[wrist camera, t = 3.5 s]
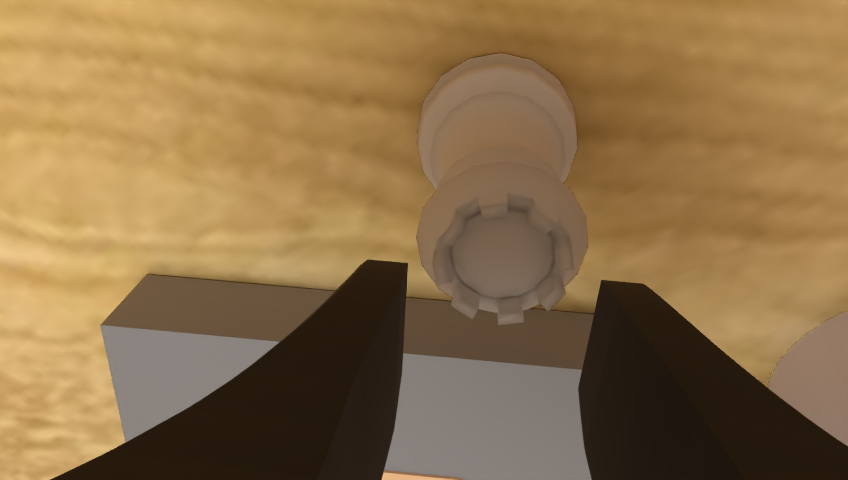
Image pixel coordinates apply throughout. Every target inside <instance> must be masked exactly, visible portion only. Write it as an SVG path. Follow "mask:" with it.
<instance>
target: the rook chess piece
mask: <svg viewBox="0 0 848 480" xmlns="http://www.w3.org/2000/svg"><path fill="white" fill-rule="evenodd" d="M417 133H418V138H417V145H418V150H419V155H420V160H421V165H422V170H423V172H424V173H425V175H426V176H427V178H428V179H429V181H430V182H431V183H432V185H433V186H434V188H435V189H436V192H435V193H434V194H433V196H432V197H431V198H430V200H429V201H428V202H427V204H426V205H425V206H424V207H423V210H422V214H421V218H420V223H419V227H418V231H417V236H416V239H417V244H418V249H419V253H420V258H421V263H422V266H423V268H424V269H425V270H426V272H427V273H428V275H429V276H430V277H431V279H432V280H433V281H434V283H435V284H436V286H437V287H438V288H439V290H441V291H442V292H444V293H445V294H447V295H449V296H450V297H452V301H451V306H452V307H454V308H455V309H457V310H458V311H460V312H461V313H463V314H465V315H466V316H468V317H469V318H471V319H473V318H474V316H475V314H476V312H477V311H478V309H481V310H485V311H490V312H494V313H498V325H504V324H514V323H524V313H523V310H528V309H530V308H532V307H534V306H536V305H538V304H541V305H542V306H543V307H544V308H545V309H546V310H547V311H549V310H550V309H551V308H552V307H553V306H554V305H555V304H556V303H557V302H558V301H559V300H560V299H561V298H562V297H563V296H564V295H565V294H566V292H565V288H564V287H565V286H566V285H567V284H568V283H569V282H570V281H571V280H572V279H573V278H574V277H575V276H576V275H577V274H578V271H579V269H580V266H581V264H582V261H583V258H584V256H585V253H586V250H587V248H588V236H587V224H586V215H585V213H584V212H583V210H582V208H581V207H580V205H579V203H578V201H577V200H576V198H575V196H574V195H573V193H572V191H571V190H570V188H569V187H567V186H566V185H564V184H563V183H564V181H565V180H566V179H567V177H568V174H569V171H570V168H571V165H572V163H573V160H574V157H575V154H576V151H577V148H578V144H577V132H576V120H575V115H574V106H573V104H572V103H571V101H570V99H569V97H568V95H567V94H566V92H565V90H564V88H563V86H562V84H561V83H560V81H559V79H557V78H556V77H555V76H553V75H552V74H551V73H549V72H548V71H547V70H545V69H544V68H543V67H541V66H540V65H539V64H537V63H536V62H535V61H533V60H529V59H525V58H521V57H516V56H512V55H508V54H503V53H499V54H493V55H487V56H481V57H475V58H469V59H467V60H466V61H464V62H463V63H461V64H460V65H458V66H456V67H455V68H453V69H452V70H450V71H448V72H447V73H445V74H444V75H442V76H441V77H440V79H439V80H438V82H437V83H436V84H435V86H434V87H433V89H432V90H431V92H430V93H429V94H428V96H427V97H426V99H425V100H424V101H423V106H422V111H421V115H420V120H419V125H418V129H417Z"/></svg>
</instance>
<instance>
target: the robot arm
mask: <svg viewBox="0 0 848 480" xmlns="http://www.w3.org/2000/svg"><path fill="white" fill-rule="evenodd" d="M407 270H408V263H400V262H389V261H377V260H367V261H365V262H364V263H363V264H362V265H360V266H359V267H358V268H357V269H356V270H355V272H354V273H353V274H352V275H351V276H350V277H349V278H348V279H347V280H346V281H345V282H344V283H343V284H342V285H341V286H340V287H339V288H338V289H337V290H336V291H335V292H334V293H333V294H332V295H331V296H330V297H329V298H328V299H327V300H326V301H325V302H324V303H323V304H322V305H321V306H320V307H319V308H318V309H316V310H315V311H314V312H313V313H312V314H311V315H310V316H309V317H308V318H307V319H306V320H304V321H303V322H302V323H301V324H300V325H299V326H298V327H297V328H296V329H295V330H293V331H292V332H291V333H290V334H289V335H288V336H286V337H285V338H284V339H283V340H281V341H280V342H279V343H278V344H276V345H275V346H274V347H273V348H272V349H270V350H269V351H268V352H267V353H265V354H264V355H263V356H262V357H260V358H259V359H258V360H257V361H256V362H254V363H253V364H252V365H250V366H249V367H248V368H246V369H245V370H244V371H242V372H241V373H240V374H238V375H237V376H235V377H234V378H233V379H231V380H230V381H228V382H227V383H226V384H224V385H222V386H221V387H219V388H218V389H216V390H215V391H213V392H212V393H210V394H209V395H207V396H206V397H204V398H203V399H201V400H200V401H198V402H196V403H195V404H193V405H191V406H190V407H188V408H187V409H185V410H183V411H181V412H180V413H178V414H176V415H174V416H172V417H171V418H169V419H167V420H165V421H163V422H162V423H160V424H158V425H156V426H154V427H153V428H151V429H149V430H147V431H145V432H144V433H142V434H140V435H138V436H136V437H135V438H133V439H131V440H129V441H127V442H126V443H124V444H122V445H120V446H118V447H117V448H115V449H113V450H111V451H109V452H107V453H105V454H103V455H101V456H99V457H97V458H95V459H93V460H91V461H89V462H86V463H84V464H82V465H80V466H78V467H76V468H74V469H72V470H70V471H68V472H66V473H64V474H62V475H59V476H57V477H55V478H53V479H51V480H382V476H383V472H384V469H385V465H386V461H387V457H388V453H389V449H390V445H391V441H392V437H393V433H394V428H395V421H396V414H397V407H398V399H399V392H400V385H401V377H402V366H403V347H404V328H405V309H406V290H407ZM578 394H579V404H580V414H581V424H582V433H583V441H584V449H585V454H586V458H587V462H588V467H589V471H590V475H591V479H592V480H848V311H846V312H844V313H842V314H840V315H837V316H835V317H833V318H831V319H829V320H827V321H825V322H823V323H822V324H820V325H819V326H817V327H816V328H814V329H813V330H811V331H809V332H808V333H807V334H805V335H804V336H803V337H802V338H801V339H800V340H799V341H798V342H796V343H795V344H794V345H793V346H792V347H791V348H790V349H789V350H788V352H787V353H786V354H785V355H784V357H783V358H782V359H781V360H780V362H779V363H778V365H777V367H776V368H775V370H774V372H773V374H772V376H771V378H770V381H769V385H768V388H767V387H766V386H765V385H763V384H762V383H761V382H760V381H758V380H757V379H756V378H755V377H753V376H752V375H751V374H750V373H748V372H747V371H746V370H745V369H743V368H742V367H741V366H740V365H739V364H737V363H736V362H735V361H734V360H733V359H731V358H730V357H729V356H728V355H727V354H725V353H724V352H723V351H722V350H721V349H720V348H718V347H717V346H716V345H715V344H714V343H713V342H711V341H710V340H709V339H708V338H707V337H706V336H704V335H703V334H702V333H701V332H700V331H699V330H698V329H696V328H695V327H694V326H693V325H692V324H691V323H690V322H688V321H687V320H686V319H685V318H684V317H683V316H682V315H680V314H679V313H678V312H677V311H676V310H675V309H674V308H672V307H671V306H670V305H669V304H668V303H667V302H666V301H664V300H663V299H662V298H661V297H660V296H658V295H657V294H656V293H655V292H654V291H652V290H651V289H650V288H648V287H647V286H646V285H644V284H640V283H629V282H617V281H606V280H601V285H600V289H599V294H598V298H597V303H596V308H595V312H594V317H593V322H592V326H591V331H590V335H589V340H588V345H587V349H586V354H585V359H584V363H583V368H582V372H581V377H580V382H579V386H578Z"/></svg>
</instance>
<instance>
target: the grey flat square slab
mask: <svg viewBox="0 0 848 480" xmlns="http://www.w3.org/2000/svg"><path fill="white" fill-rule="evenodd" d="M334 292H335V291H328V290H317V289H306V288H294V287H283V286H272V285H261V284H250V283H238V282H227V281H216V280H205V279H194V278H182V277H171V276H160V275H149V274H147V275H146V276H145V277H144V278H143V279H142V280H141V281H140V282H139V283H138V285H137V286H136V287H135V288H134V289H133V290H132V291H131V292H130V293H129V294H128V296H127V297H126V298H125V299H124V300H123V301H122V302H121V303H120V304H119V305H118V306H117V308H116V309H115V310H114V311H113V312H112V313H111V314H110V315H109V316H108V317H107V319H106V320H105V321H104V322H103V323H102V324H101V330H102V335H103V339H104V344H105V349H106V353H107V358H108V362H109V367H110V372H111V376H112V381H113V386H114V390H115V395H116V400H117V404H118V409H119V414H120V418H121V423H122V427H123V432H124V437H125V441H126V442H127V441H129V440H131V439H133V438H135V437H136V436H138V435H140V434H142V433H144V432H145V431H147V430H149V429H151V428H153V427H154V426H156V425H158V424H160V423H162V422H163V421H165V420H167V419H169V418H171V417H172V416H174V415H176V414H178V413H180V412H181V411H183V410H185V409H187V408H188V407H190V406H191V405H193V404H195V403H196V402H198V401H200V400H201V399H203V398H204V397H206V396H207V395H209V394H210V393H212V392H213V391H215V390H216V389H218V388H219V387H221V386H222V385H224V384H226V383H227V382H228V381H230V380H231V379H233V378H234V377H235V376H237V375H238V374H240V373H241V372H242V371H244V370H245V369H246V368H248V367H249V366H250V365H252V364H253V363H254V362H256V361H257V360H258V359H259V358H260V357H262V356H263V355H264V354H265V353H267V352H268V351H269V350H270V349H272V348H273V347H274V346H275V345H276V344H278V343H279V342H280V341H281V340H283V339H284V338H285V337H286V336H288V335H289V334H290V333H291V332H292V331H293V330H295V329H296V328H297V327H298V326H299V325H300V324H301V323H302V322H303V321H304V320H306V319H307V318H308V317H309V316H310V315H311V314H312V313H313V312H314V311H315V310H316V309H318V308H319V307H320V306H321V305H322V304H323V303H324V302H325V301H326V300H327V299H328V298H329V297H330V296H331V295H332V294H333V293H334ZM523 313H524V323H514V324H504V325H498V313H494V312H490V311H485V310H481V309H478V311H477V312H476V314H475V316H474V318H473V319H471V318H469V317H468V316H466V315H465V314H463V313H461V312H460V311H458V310H457V309H455V308H454V307H452V306H451V301H440V300H429V299H417V298H406V309H405V328H404V347H403V366H402V377H401V385H400V392H399V399H398V407H397V414H396V421H395V428H394V433H393V437H392V441H391V445H390V449H389V453H388V457H387V461H386V465H385V469H384V472H383V476H382V480H592V479H591V475H590V471H589V467H588V462H587V458H586V454H585V449H584V441H583V433H582V424H581V414H580V404H579V394H578V386H579V382H580V377H581V372H582V368H583V363H584V359H585V354H586V349H587V345H588V340H589V335H590V331H591V326H592V322H593V317H594V314H585V313H574V312H563V311H552V310H549V311H547V310H541V309H528V310H523Z"/></svg>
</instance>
